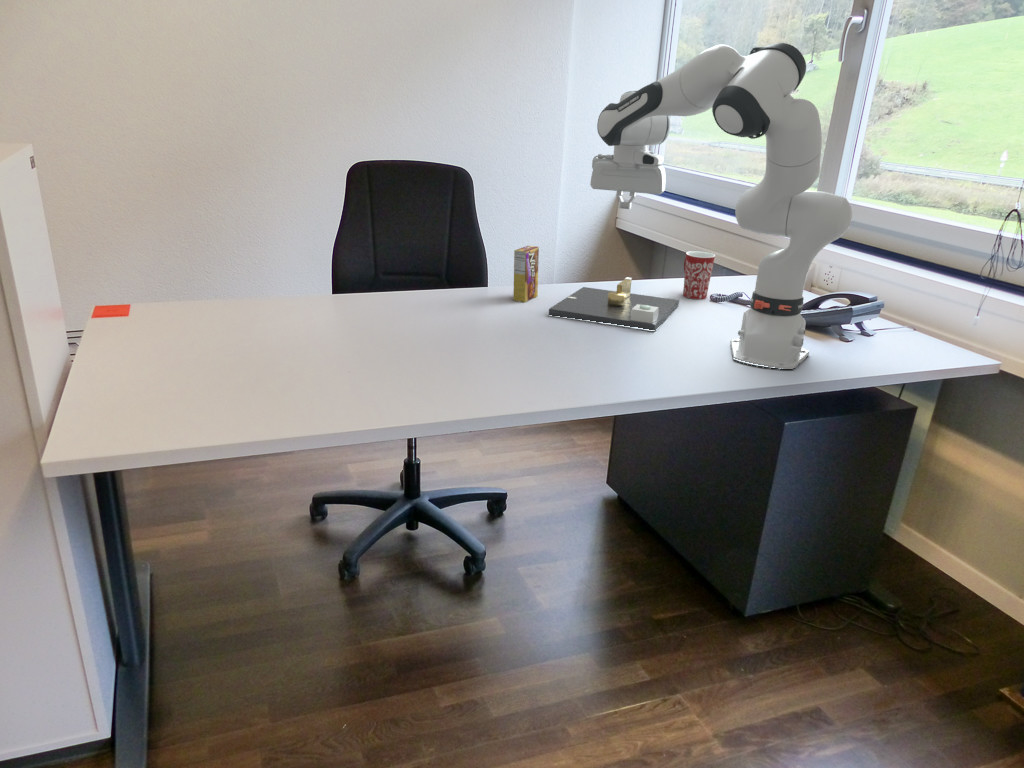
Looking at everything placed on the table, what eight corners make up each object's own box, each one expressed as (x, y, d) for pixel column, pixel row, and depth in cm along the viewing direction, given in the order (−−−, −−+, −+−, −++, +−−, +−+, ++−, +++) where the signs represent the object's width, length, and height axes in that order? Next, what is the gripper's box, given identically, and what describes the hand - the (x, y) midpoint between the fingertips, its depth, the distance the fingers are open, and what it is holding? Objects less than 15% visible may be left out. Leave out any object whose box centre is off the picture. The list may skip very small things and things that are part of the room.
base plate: (654, 332, 196) (656, 311, 194) (548, 315, 207) (549, 296, 205) (678, 306, 222) (680, 288, 220) (583, 293, 233) (584, 275, 231)
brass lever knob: (622, 306, 210) (624, 288, 208) (605, 304, 212) (607, 286, 210) (635, 295, 223) (637, 278, 221) (619, 293, 225) (621, 276, 223)
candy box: (525, 294, 228) (527, 245, 223) (537, 296, 226) (540, 246, 221) (511, 300, 221) (513, 249, 215) (524, 302, 219) (527, 251, 213)
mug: (714, 299, 231) (720, 256, 226) (688, 300, 229) (693, 257, 224) (696, 289, 243) (702, 248, 238) (671, 290, 241) (675, 249, 236)
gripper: (589, 154, 200) (585, 206, 205) (664, 159, 192) (658, 213, 197) (596, 153, 205) (592, 204, 210) (669, 157, 198) (663, 210, 203)
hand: (625, 208), depth 204 cm, fingers closed
